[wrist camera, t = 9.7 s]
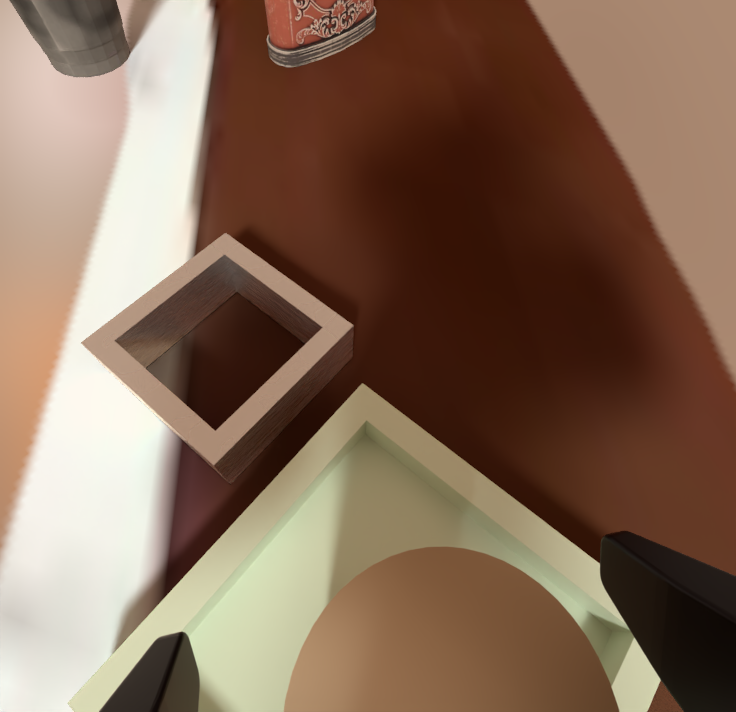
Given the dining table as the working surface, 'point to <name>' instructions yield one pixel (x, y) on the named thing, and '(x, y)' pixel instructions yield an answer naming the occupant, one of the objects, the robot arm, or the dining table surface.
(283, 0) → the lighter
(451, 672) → the pin
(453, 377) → the dining table surface
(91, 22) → the beverage cup
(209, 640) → the tray
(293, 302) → the pin socket
